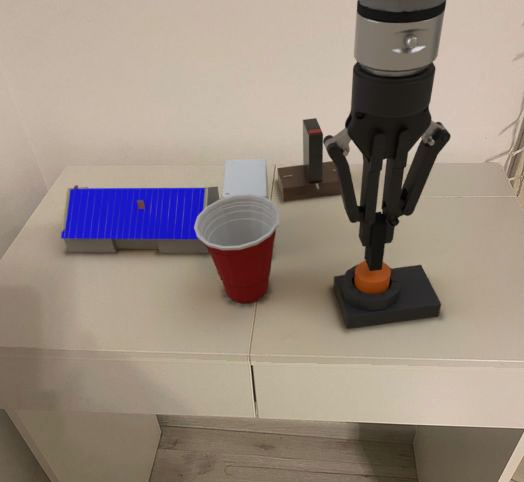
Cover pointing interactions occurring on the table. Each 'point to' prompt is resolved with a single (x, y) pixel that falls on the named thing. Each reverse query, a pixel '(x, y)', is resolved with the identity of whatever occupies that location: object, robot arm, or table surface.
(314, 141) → the dark grey block
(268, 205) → the plastic cup
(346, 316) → the switch button base
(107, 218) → the roof
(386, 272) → the switch button
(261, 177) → the cosmetics box
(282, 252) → the table surface
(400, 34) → the robot arm
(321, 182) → the dial panel
